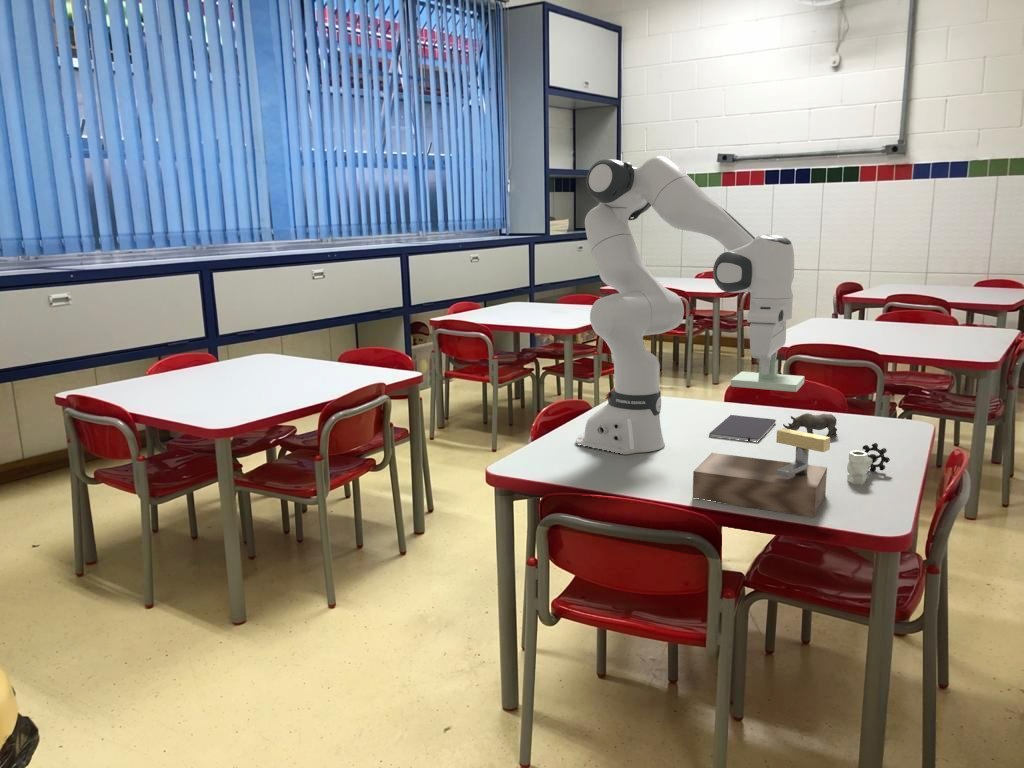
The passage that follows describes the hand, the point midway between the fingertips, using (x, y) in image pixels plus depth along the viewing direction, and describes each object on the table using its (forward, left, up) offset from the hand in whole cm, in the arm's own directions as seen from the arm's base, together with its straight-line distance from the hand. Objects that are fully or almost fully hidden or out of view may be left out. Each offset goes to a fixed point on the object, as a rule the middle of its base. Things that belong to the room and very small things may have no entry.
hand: (767, 371), depth 180 cm
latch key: (+10, -21, -17) cm, 29 cm away
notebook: (-12, +31, -24) cm, 41 cm away
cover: (0, 0, -3) cm, 3 cm away
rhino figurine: (+5, +33, -23) cm, 40 cm away
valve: (+21, +4, -23) cm, 31 cm away
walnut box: (+3, -18, -23) cm, 30 cm away
